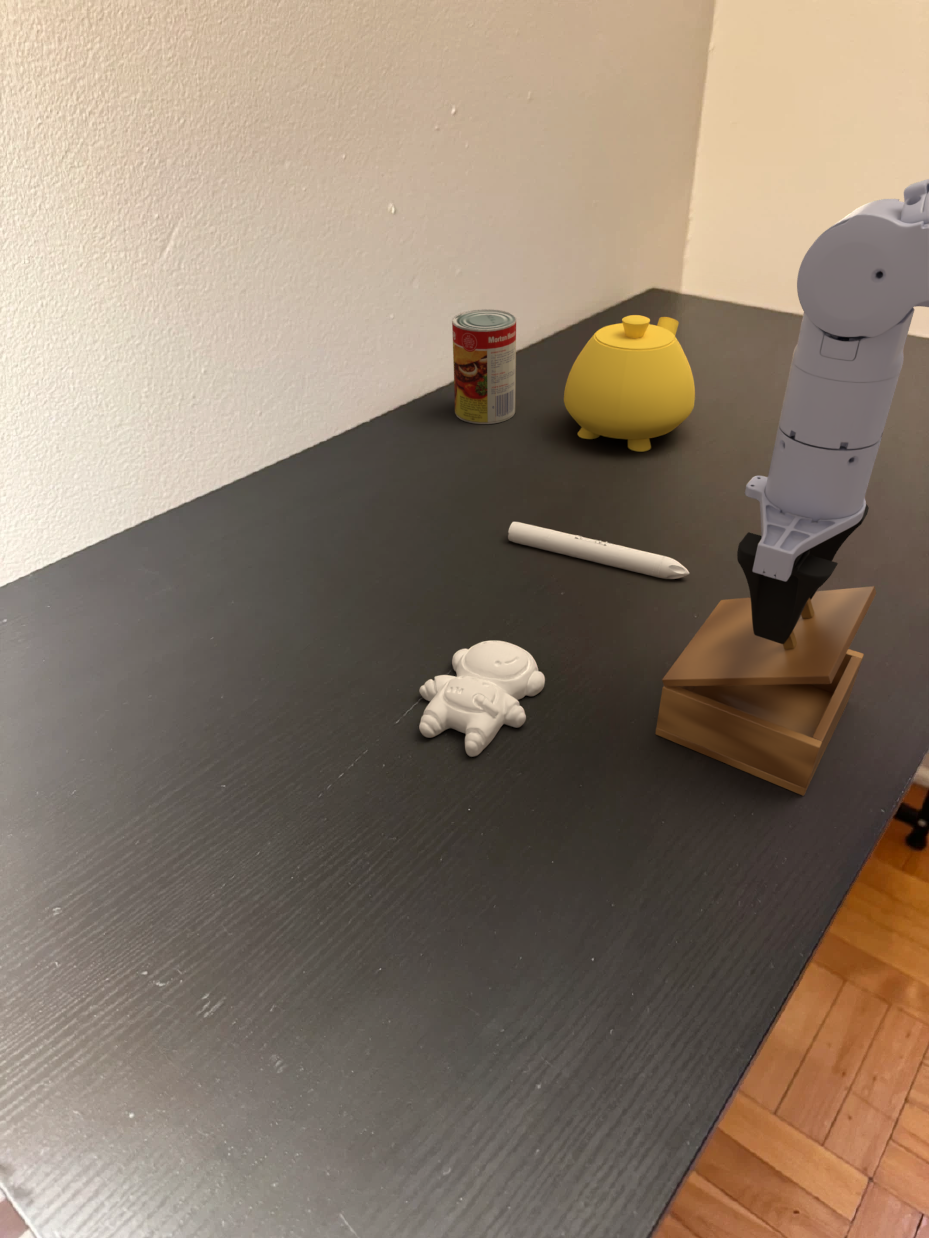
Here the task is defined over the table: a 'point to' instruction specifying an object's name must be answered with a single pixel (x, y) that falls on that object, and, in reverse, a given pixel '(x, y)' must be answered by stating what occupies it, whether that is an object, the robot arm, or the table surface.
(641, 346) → the teapot
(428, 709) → the astronaut figurine
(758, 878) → the table surface
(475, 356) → the canned food
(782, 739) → the keepsake box
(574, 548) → the marker
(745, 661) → the brown piece
